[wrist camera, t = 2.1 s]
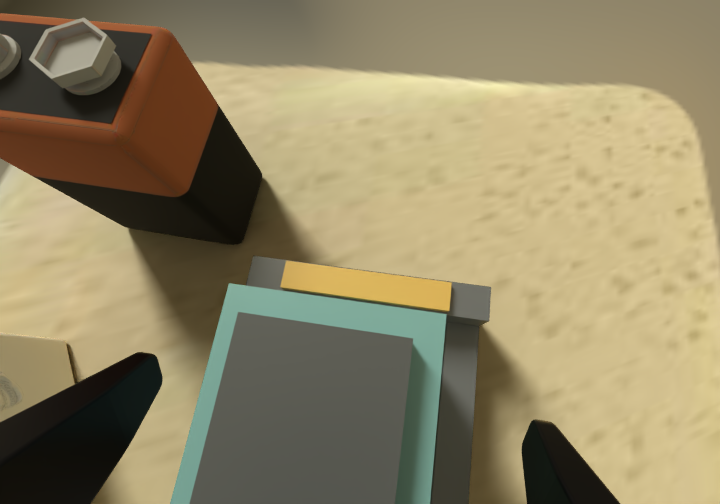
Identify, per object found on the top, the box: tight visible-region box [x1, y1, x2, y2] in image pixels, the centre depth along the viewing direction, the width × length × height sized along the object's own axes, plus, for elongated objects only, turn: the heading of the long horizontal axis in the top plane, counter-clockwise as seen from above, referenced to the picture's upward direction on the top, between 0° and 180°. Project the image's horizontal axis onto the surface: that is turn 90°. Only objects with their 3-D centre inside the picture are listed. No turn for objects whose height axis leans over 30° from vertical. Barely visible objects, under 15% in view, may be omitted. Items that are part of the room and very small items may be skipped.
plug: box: [170, 283, 447, 504], centre depth 11 cm, size 4×4×11 cm
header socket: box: [246, 256, 491, 504], centre depth 14 cm, size 9×9×4 cm
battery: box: [0, 13, 262, 245], centre depth 15 cm, size 4×7×10 cm, turn 79°
